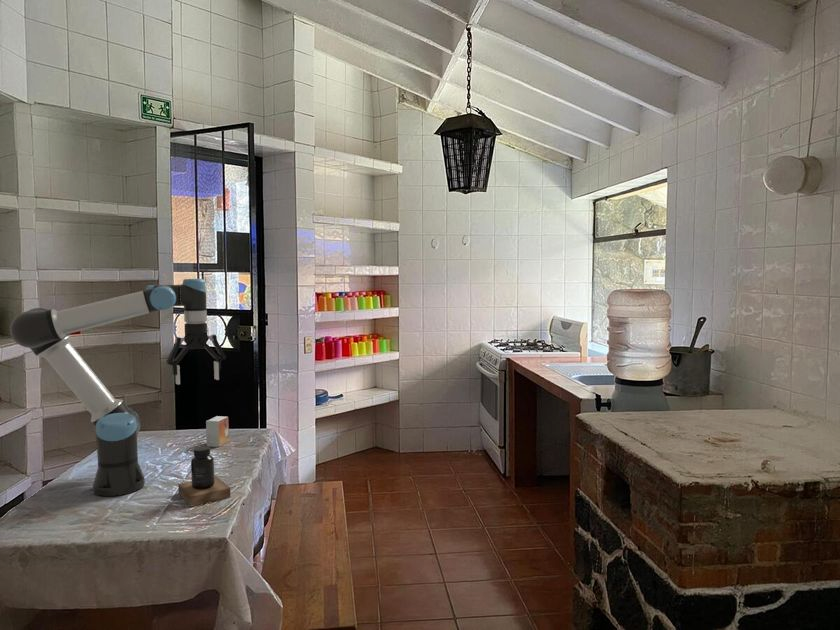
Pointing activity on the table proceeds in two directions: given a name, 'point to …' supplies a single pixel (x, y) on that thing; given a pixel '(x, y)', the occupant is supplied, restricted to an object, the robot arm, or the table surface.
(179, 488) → the brown flat block
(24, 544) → the table surface
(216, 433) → the small box
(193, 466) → the supplement bottle
